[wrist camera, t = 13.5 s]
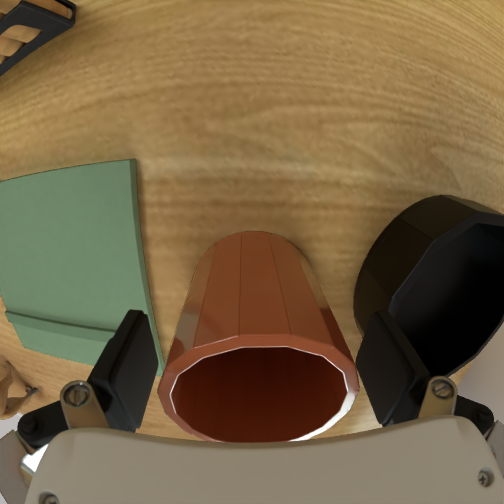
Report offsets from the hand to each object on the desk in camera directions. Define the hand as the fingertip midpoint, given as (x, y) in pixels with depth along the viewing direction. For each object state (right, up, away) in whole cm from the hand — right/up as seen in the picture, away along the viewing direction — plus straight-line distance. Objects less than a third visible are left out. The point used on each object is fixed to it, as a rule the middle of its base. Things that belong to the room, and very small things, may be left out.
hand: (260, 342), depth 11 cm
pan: (+12, -2, +6) cm, 13 cm away
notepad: (-13, +2, +4) cm, 14 cm away
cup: (0, +2, +4) cm, 5 cm away
